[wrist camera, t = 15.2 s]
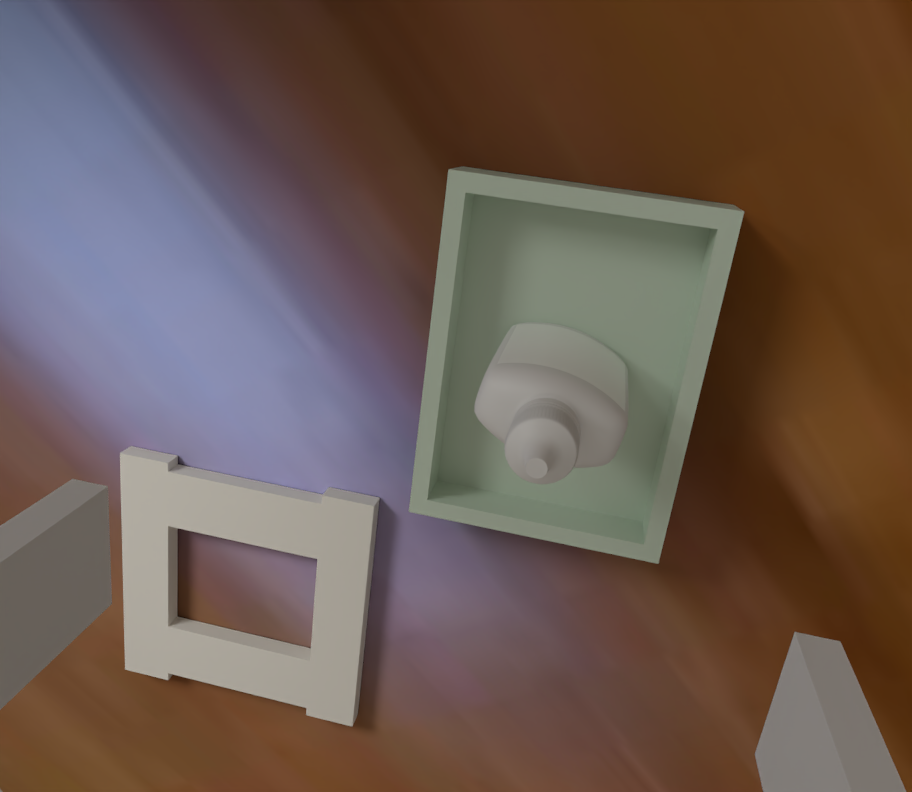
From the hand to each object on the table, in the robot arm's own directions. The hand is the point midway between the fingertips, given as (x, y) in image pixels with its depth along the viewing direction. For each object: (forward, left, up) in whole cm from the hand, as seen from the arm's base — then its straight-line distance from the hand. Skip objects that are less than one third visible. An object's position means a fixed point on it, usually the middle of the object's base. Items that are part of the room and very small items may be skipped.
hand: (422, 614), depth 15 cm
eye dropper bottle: (+1, -1, -22) cm, 22 cm away
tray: (+1, -1, -23) cm, 23 cm away
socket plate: (-14, -17, -23) cm, 32 cm away
